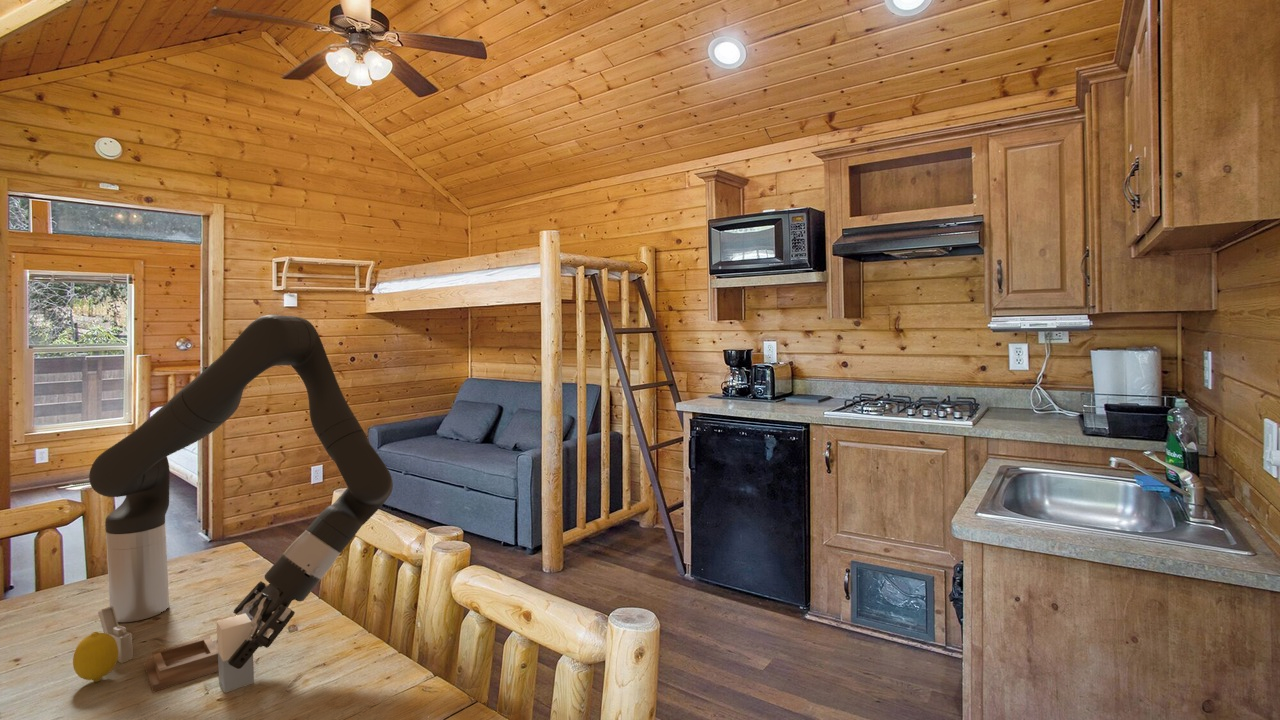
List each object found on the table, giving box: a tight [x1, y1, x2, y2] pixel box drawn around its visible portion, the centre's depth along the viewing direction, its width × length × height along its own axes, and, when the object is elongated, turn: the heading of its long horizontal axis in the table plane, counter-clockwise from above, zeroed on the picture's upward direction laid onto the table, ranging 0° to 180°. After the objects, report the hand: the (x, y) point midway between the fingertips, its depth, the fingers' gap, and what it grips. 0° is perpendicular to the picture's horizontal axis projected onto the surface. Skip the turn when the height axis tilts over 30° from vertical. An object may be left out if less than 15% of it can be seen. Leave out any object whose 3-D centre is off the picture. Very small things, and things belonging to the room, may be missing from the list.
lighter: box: [97, 606, 134, 664], centre depth 110 cm, size 7×2×8 cm, turn 63°
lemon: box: [72, 631, 119, 683], centre depth 102 cm, size 6×6×8 cm
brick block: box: [216, 613, 255, 694], centre depth 102 cm, size 4×4×10 cm
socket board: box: [143, 636, 219, 693], centre depth 106 cm, size 10×10×2 cm
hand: (227, 655), depth 101 cm, fingers open, 8 cm apart
